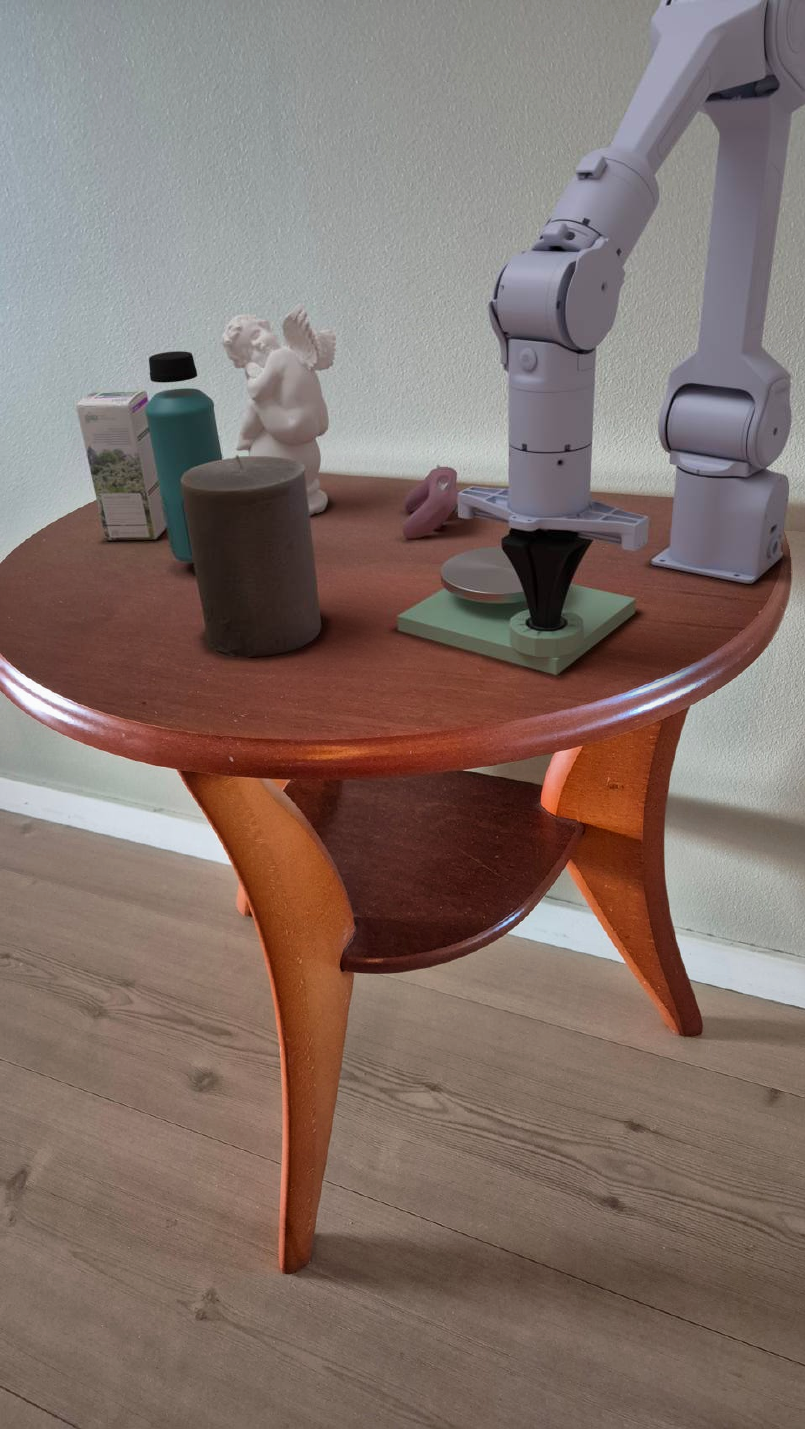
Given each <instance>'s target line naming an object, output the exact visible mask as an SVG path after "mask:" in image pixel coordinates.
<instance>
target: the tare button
mask: <svg viewBox="0 0 805 1429" xmlns="http://www.w3.org/2000/svg"><path fill="white" fill-rule="evenodd" d="M529 628H530V629H532V630H536V631H542V632H553V631H557V630H561V629H563V628H564V621H563V619H562V618H561V619H560V620H559V621H557V622H556V623H555V624H553V625H552V626H550V627H549V628H544V627H540V626H536V625H533V624H532V621H531V619H530V621H529Z"/></svg>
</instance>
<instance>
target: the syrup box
mask: <svg viewBox="0 0 805 1429" xmlns="http://www.w3.org/2000/svg"><path fill="white" fill-rule="evenodd" d="M149 401H150V400H149V396H148V392H147V391H146V390H143V389H141V390H123V391H122V390H118V391H94V392H92V393H89V394H87V395H86V396H84V397H83V398H82V399H80V400H79V401H78V402H77V403H76V404H75V406H76V407H75V409H76V412H77V413H76V414H77V418H78V422H79V426H80V431H81V435H82V440H83V442H84V443H83V444H84V448H85V453H86V458H87V462H88V468H89V472H90V476H91V481H92V485H93V490H94V494H95V499H96V503H97V508H98V513H99V517H100V521H101V524H102V525H101V526H102V530H103V536H104V539H105V541H147V540H149V541H150V540H151V541H152V540H157V539H158V537H159V536H161V534H162V533H163V532H164V531H166V529H165V527H167V525H166V521H165V520H164V519H165V516H164V515H165V514H164V511H163V510H162V509H163V508H162V507H163V504H162V503H161V502H162V501H161V500H162V499H161V494H160V493H159V492H160V489H159V483H158V475H157V470H156V465H155V459H154V454H153V449H152V443H151V438H150V433H149V427H148V422H147V417H146V414H145V407H146V406H147V404H148V402H149ZM160 499H161V500H160ZM163 514H164V515H163ZM163 517H164V518H163ZM164 522H165V523H164Z"/></svg>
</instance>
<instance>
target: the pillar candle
mask: <svg viewBox="0 0 805 1429" xmlns="http://www.w3.org/2000/svg"><path fill="white" fill-rule="evenodd" d="M305 468H306V467H305V465H303V464H300V463H298V462H297V461H296V460H291V459H288V458H282V457H271V456H249V455H240V456H239V454H235V457H231V458H229V457H228V458H222V460H217V461H213V462H209V463H206V464H202V465H199V466H197V467H193V468H191V469H190V470H188V471H187V472H185V473H184V474H183V476H182V477H181V487H182V493H183V500H184V508H185V514H186V519H187V526H188V532H189V537H190V543H191V549H192V554H193V562H194V563H193V567H194V568H193V569H194V573H195V574H194V575H195V579H196V584H197V588H198V594H199V599H200V601H199V602H200V603H201V605H200V606H201V611H202V615H203V616H202V617H203V621H204V626H205V627H204V628H205V631H206V640H207V643H208V645H209V647H211V648H212V649H213V650H214V651H217V652H220V653H222V654H224V655H228V656H230V657H241V658H259V657H270V656H274V655H275V656H276V655H280V654H281V655H282V654H285V653H289V652H292V651H295V650H297V649H300V648H302V647H304V646H306V645H307V644H308V643H311V642H312V641H313V640H315V639H316V638H317V637H318V635H319V634H320V633H321V630H322V619H321V612H320V610H321V609H320V601H319V600H320V599H319V590H318V579H317V572H316V571H317V570H316V564H315V554H314V545H313V535H312V534H313V533H312V527H311V515H309V506H308V499H307V489H306V481H305V471H306V469H305Z"/></svg>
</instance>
